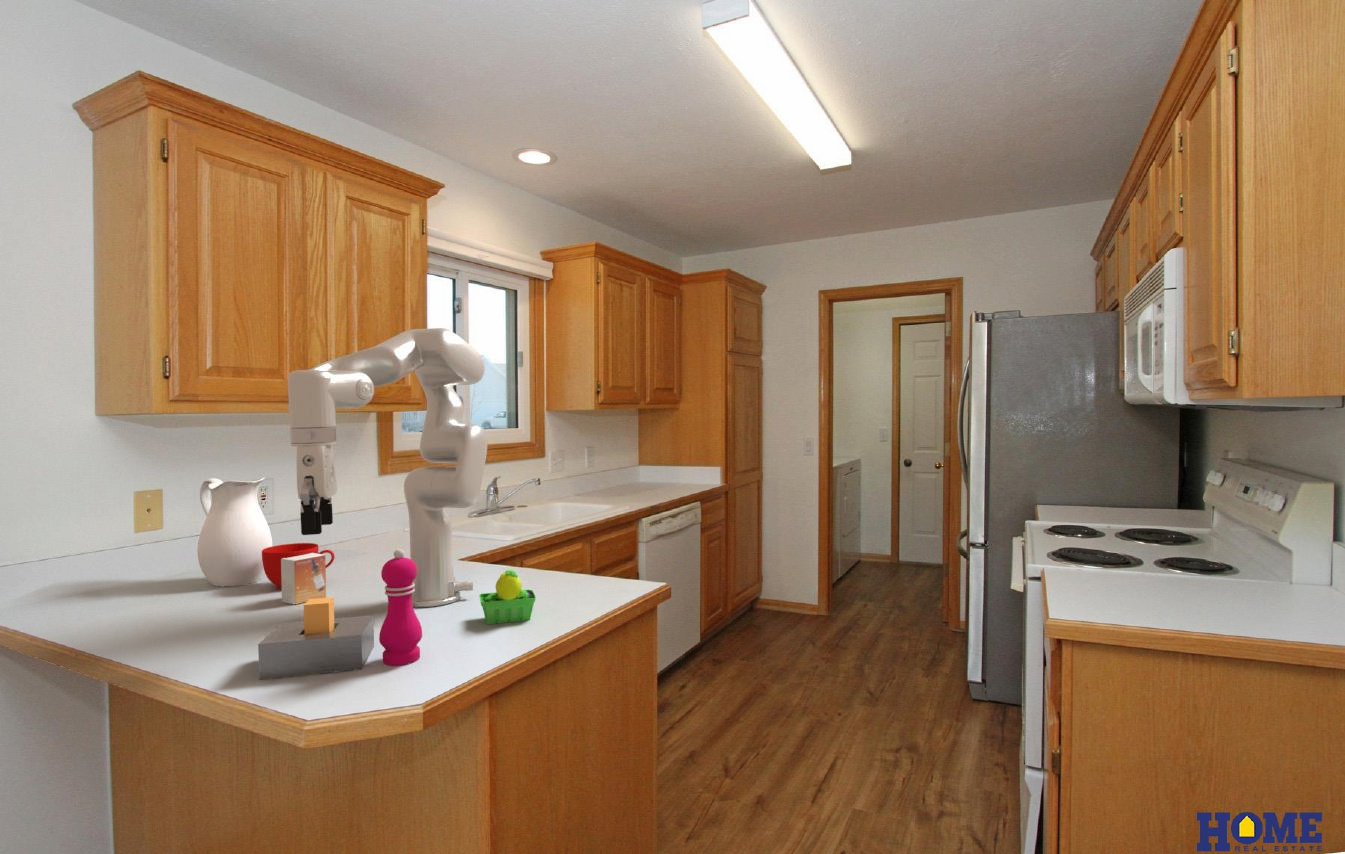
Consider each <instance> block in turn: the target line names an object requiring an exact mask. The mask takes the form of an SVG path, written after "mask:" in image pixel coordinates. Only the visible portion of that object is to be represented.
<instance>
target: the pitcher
mask: <svg viewBox="0 0 1345 854" xmlns="http://www.w3.org/2000/svg"><path fill="white" fill-rule="evenodd" d="M265 480H266V477H262V478H261V479H258V480H254V481H245V480H244V481H243V480H242V481H241V480H228V481H224V482H223V481H222V479H219V478H215V477H214V478H213V477H212V478H211V477H210V478H207V479H205V480H204V481H203V482H202V484H201V485H200V488H199V501H200V504H201V507H202V510H203V512H204V513H205V516H206V518H205V520H204V523H203V526H202V528H201V530H200V534H199V537H198V543H197V561H198V565H199V567H200V570H201V572H202V574H203V575H204V577H205V578H206V579H207V581H208V582H209V583H210V584H211V585H212V586H213V585H214V587H218V586H231V587H238V586H245V584H246V585H249V583H250V584H254V583H256V582H258V581H260V580H261V579H262V578H263V576H264V575H265V571H264V568H263V562H262V550H263V549H265V548H268V547H272V546H273V538H272V533H271V530H270V527H269V525H268V522H267V520H266V517H265V515H264V513H263V511H262V509H261V507H260V504H259V501H258V491H259V489H260V486H261V485H262V484H263V482H264V481H265Z"/></svg>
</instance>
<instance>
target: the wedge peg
mask: <svg viewBox="0 0 1345 854" xmlns="http://www.w3.org/2000/svg"><path fill="white" fill-rule="evenodd" d="M334 599H335V597H334V596H333V597H331V596H330V597H326V598H317V599H309V600H308V601H307V602H304V604H303V621H304V634H316V633H327V632H333V631H334V619H335V600H334Z"/></svg>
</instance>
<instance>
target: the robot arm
mask: <svg viewBox="0 0 1345 854" xmlns="http://www.w3.org/2000/svg"><path fill="white" fill-rule="evenodd" d="M485 369H486V368H485V362H484V360H483V357H482V355H481V354H480V352H479V351H478V350H477V349H476V348H474V347H473V346H472V345H471V344H470V343H468V342H467V341H465V339H463V338H462V337H461V336H459V335H458V334H456V333H454V331H451V330H450V329H447V328H442V327H436V328H434V327H433V328H414V329H409V330H408V329H407V330H405V331H403V332H401V333H399V334H397V335H395V336H393V337H390V338H389V339H387V340H384V341H383V342H381V343H379V344H377V345H375V346H373V347H369V348H365V349H362V350H359V351H356V352H353V353H350V354H346V355H342V356H339V357H336V358H333V359H330V360H328V361H325V362H323V363H320V364H318V365H316V366H313V368H310V369H299V370H294V371H292V372H290V373H289V375H288V376H287V390H288V391H287V392H288V415H289V434H290V435H289V437H290V439H289V440H290V447H296V457H295V458H296V488H297V496H298V499H299V500H300V510H299V511H300V533H301V535H302V536H312V535H314V536H315V535H320V534H321V533H322V532H323V531H322V530H323V529H322V526H329V525H332V524H333V523H334V521H333V520H334V519H333V518H334V517H333V503H332V497H333V496H334V495H336V494H337V492H338V486H337V484H338V483H337V475H336V465H335V463H336V462H335V453H334V447H333V445H337V444H338V443H337V425H336V424H337V422H336V418H337V417H336V409H337V410H351V409H353V410H354V409H360V408H362V407H364V406H366V405H368V404H369V403H370V402H371V401H372V399H373V397H374V394H375V388H378V387H382V386H387V385H390V384H394V383H396V382H398V381H400V380H402V379H403V378H404V377H406V376H408V375H410V374H411V373H412V372H415V375H416V378H417V379H418V382H419V384H420V385H421V387H422V390H423V393H424V395H425V397H426V407H427V408H426V413H425V418H424V422H423V428H422V432H421V437H420V442H419V455H420V457H421V458H422V459H423V460H424V461H426V462H429V463H434V464H456V467H454V466H451V467H450V466H447V467H445V466H424V467H418V468H415V469H413V470H411V471H410V472H409V473H408V474H407V475H406V477H405V479H404V482H403V492H404V498H405V502H406V506H407V507H406V508H407V513H408V524H409V550H410V551H409V553H410V555H409V556H410V557H409V559H411V560H412V561H414V563H415V564H416V567H417V576H416V578H415V579H414V580H413V582H412V583H414V584H415V586H414V589H415V591H414V592H413V593H412V605H413V608H414V607H415V608H416V607H417V608H429V607H431V608H432V607H438V606H443V605H447V604H452V603H454V602H457V601H458V600H460V598H461V592H463V591H464V592H468V591H469V592H470V591H473V590H474V583H473V581H471V582H469V581H461V582H460V581H457V580H456V576H454V557H453V555H454V552H453V549H454V548H453V545H454V544H453V523H452V521H451V517H450V516H449V514H448V512H447V511H446V510H445V509H467V508H470V507H472V506H473V505H474V504H475V503H476V502H477V501H478V498H479V496H480V493H481V487H482V483H483V479H484V478H483V476H484V472H485V466H486V460H487V459H486V458H487V453H488V439H487V436H486V433H485V431H484V429H483V428H482V427H481V426H480V425H477V424H473V423H462V422H463V417H464V415H463V414H464V405H463V402H462V400H461V398H460V397H459V395H458V393H457V392H456V391H455V389H454V388H453V387H452V386H468V385H469V386H471V385H475V384H477V383H479V382H480V381H481V380H482V379H483V377H484V374H485Z"/></svg>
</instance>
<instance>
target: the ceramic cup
mask: <svg viewBox="0 0 1345 854" xmlns="http://www.w3.org/2000/svg"><path fill="white" fill-rule="evenodd" d="M319 548H320V547H319V544H318V543H315V542H314V543H312V542H295V543H285V544H279V545H272V547H268V548H265V549H263V550H262V562H263V568H264V571H265V573H264V575H266V577H267V579H268V580H269V582H270V583H271V584H272V585H274V587H276V589H280V590H282V578H281V559H282V558H290V557H295V556H300V555H305V554H310V553H317V554H323V555H324V554H326V553H327V554H330V557H331V558H330V560H329V562H328V563H327V564H326V569H327V568H329V566H331V564H333V562H334V560H335V553H334V551H332V550H330V549H324V550H319Z"/></svg>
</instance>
